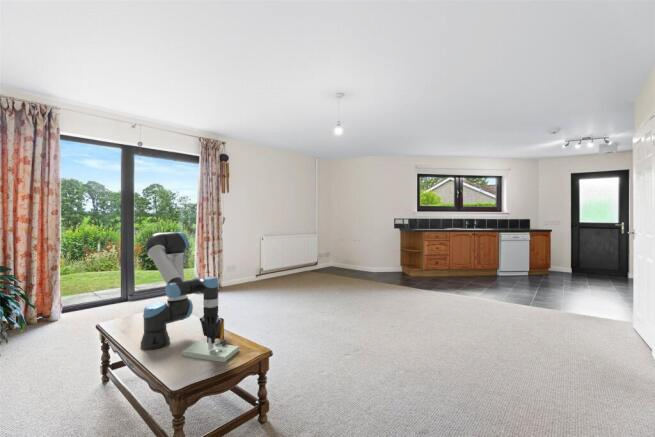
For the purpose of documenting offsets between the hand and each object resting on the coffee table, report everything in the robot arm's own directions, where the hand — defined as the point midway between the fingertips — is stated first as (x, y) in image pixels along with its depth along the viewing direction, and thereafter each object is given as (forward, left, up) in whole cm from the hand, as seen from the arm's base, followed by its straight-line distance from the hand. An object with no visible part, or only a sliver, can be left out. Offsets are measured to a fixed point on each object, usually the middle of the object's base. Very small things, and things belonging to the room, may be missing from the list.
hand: (211, 348), depth 176 cm
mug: (-8, +17, -4) cm, 19 cm away
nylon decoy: (-2, +8, +1) cm, 8 cm away
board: (-1, +2, -3) cm, 4 cm away
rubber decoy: (+3, +8, +1) cm, 8 cm away
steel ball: (+4, 0, -2) cm, 5 cm away
